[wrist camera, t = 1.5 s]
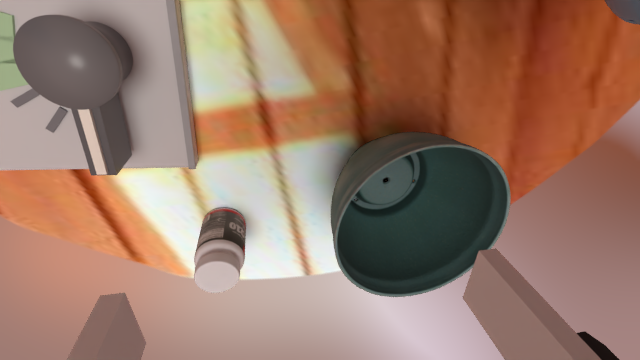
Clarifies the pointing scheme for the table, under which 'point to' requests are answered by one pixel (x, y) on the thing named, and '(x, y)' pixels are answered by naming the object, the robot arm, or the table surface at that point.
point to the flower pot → (416, 212)
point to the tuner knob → (80, 81)
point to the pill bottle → (220, 250)
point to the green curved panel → (6, 75)
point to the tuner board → (134, 93)
